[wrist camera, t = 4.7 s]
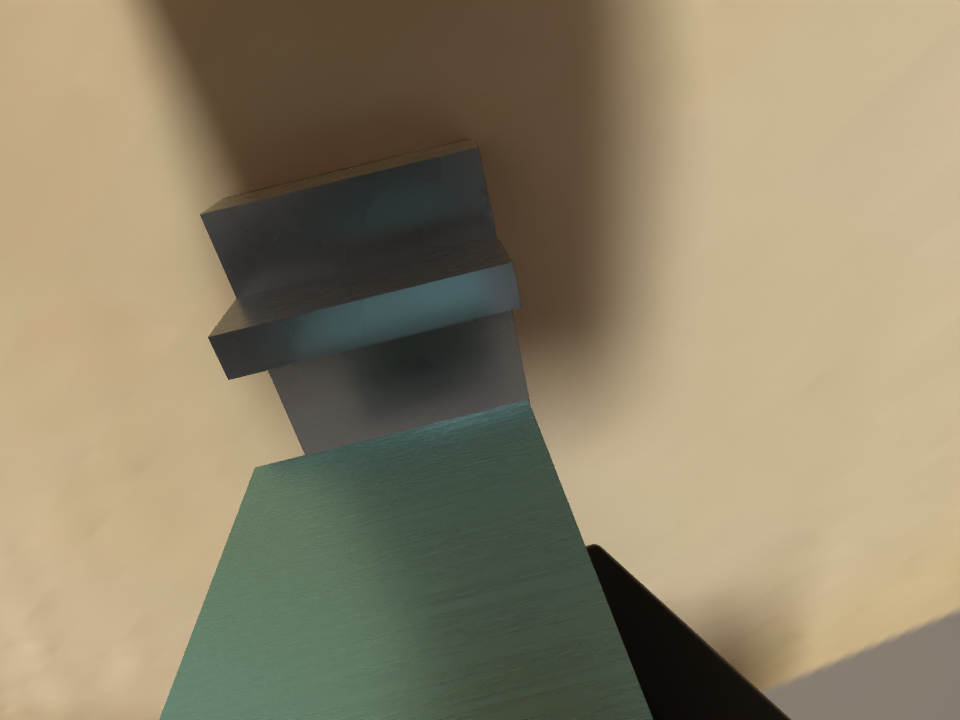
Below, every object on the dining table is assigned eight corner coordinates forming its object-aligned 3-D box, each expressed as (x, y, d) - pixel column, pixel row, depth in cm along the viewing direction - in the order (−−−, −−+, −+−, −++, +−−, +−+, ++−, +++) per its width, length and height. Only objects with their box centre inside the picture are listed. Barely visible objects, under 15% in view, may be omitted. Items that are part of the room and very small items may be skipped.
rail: (468, 139, 11) (605, 258, 4) (596, 753, 21) (703, 1122, 14) (223, 198, 11) (-132, 439, 4) (466, 786, 21) (502, 1177, 14)
